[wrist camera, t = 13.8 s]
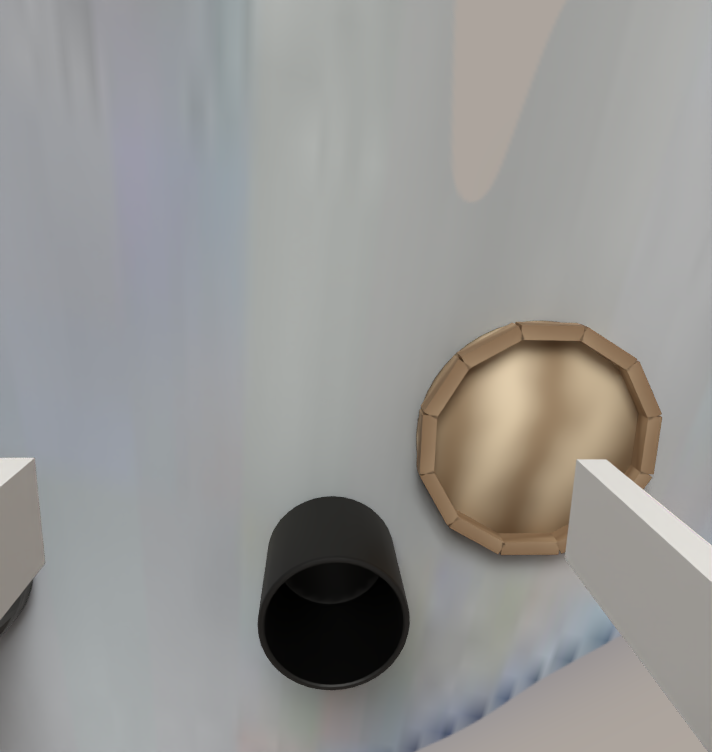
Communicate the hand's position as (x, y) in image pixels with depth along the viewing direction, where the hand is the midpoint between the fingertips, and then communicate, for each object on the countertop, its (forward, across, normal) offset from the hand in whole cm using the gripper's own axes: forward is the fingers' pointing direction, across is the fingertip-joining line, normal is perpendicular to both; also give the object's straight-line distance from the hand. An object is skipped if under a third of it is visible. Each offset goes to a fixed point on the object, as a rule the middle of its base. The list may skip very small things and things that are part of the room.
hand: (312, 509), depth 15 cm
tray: (+29, +16, -8) cm, 34 cm away
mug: (+29, +2, -19) cm, 34 cm away
